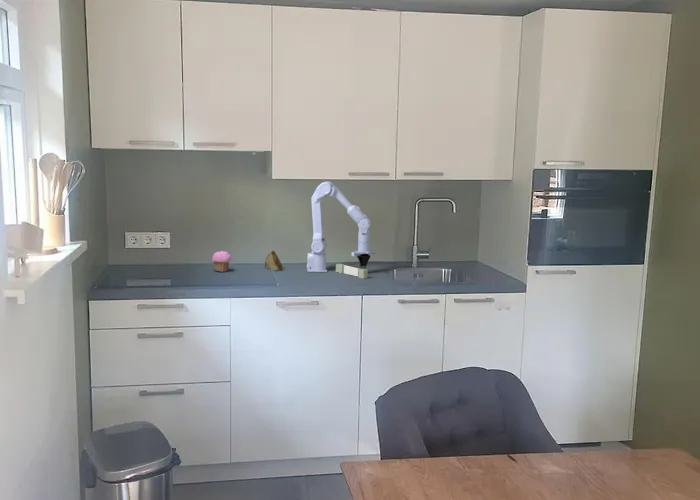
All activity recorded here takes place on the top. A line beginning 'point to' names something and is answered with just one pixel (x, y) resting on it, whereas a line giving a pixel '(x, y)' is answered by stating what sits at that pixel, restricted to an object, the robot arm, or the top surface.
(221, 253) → the cupcake
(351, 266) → the block
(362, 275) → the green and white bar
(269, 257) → the rock
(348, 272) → the door
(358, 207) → the robot arm
